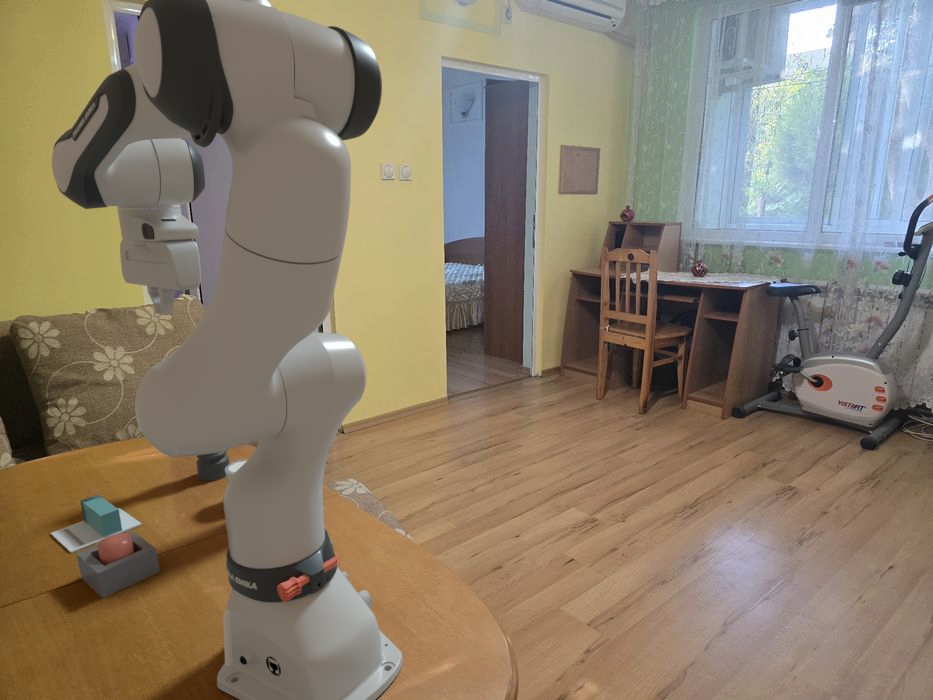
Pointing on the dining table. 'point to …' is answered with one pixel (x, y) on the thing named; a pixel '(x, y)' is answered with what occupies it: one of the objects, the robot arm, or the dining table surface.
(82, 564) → the button box
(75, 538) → the sketch sheet
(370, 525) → the dining table surface
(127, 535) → the button
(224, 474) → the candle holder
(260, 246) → the robot arm
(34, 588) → the dining table surface
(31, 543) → the dining table surface
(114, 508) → the teal rectangular block
